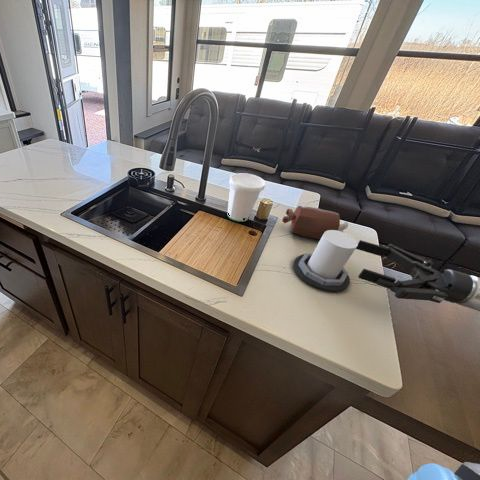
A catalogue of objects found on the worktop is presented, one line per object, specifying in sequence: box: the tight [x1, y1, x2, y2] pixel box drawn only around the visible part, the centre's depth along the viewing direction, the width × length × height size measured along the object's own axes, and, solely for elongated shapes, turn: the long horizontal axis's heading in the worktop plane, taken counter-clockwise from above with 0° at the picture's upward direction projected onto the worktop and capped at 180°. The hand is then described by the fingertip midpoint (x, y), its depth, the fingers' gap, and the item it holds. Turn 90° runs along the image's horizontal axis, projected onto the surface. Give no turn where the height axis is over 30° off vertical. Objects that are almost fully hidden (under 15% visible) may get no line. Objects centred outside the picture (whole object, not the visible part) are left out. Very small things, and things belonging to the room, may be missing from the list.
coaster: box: [292, 252, 351, 294], centre depth 76 cm, size 15×15×3 cm
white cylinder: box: [307, 230, 359, 279], centre depth 72 cm, size 8×8×12 cm
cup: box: [226, 172, 267, 223], centre depth 96 cm, size 12×12×15 cm
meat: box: [281, 205, 349, 240], centre depth 89 cm, size 20×12×10 cm, turn 70°
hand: (359, 257), depth 68 cm, fingers open, 13 cm apart
